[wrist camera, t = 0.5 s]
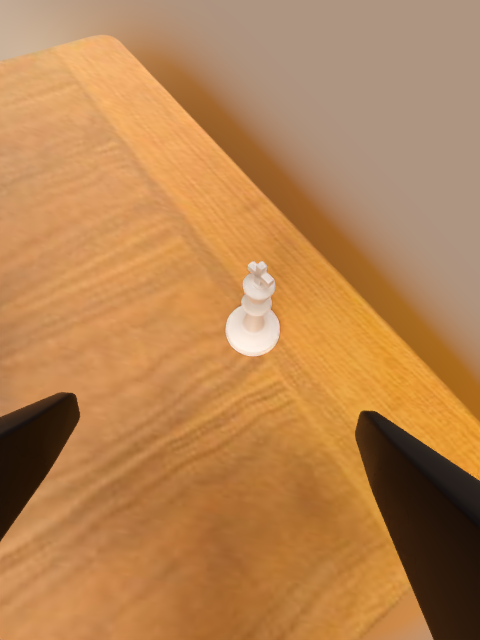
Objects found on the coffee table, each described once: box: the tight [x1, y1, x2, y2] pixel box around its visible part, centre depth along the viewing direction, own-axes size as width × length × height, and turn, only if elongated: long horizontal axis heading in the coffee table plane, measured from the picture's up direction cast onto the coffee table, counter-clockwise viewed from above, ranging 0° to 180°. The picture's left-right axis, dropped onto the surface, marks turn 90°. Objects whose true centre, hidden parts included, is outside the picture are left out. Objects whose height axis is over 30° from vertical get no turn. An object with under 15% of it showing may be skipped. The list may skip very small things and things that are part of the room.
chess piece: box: [226, 261, 280, 356], centre depth 18 cm, size 5×5×10 cm
